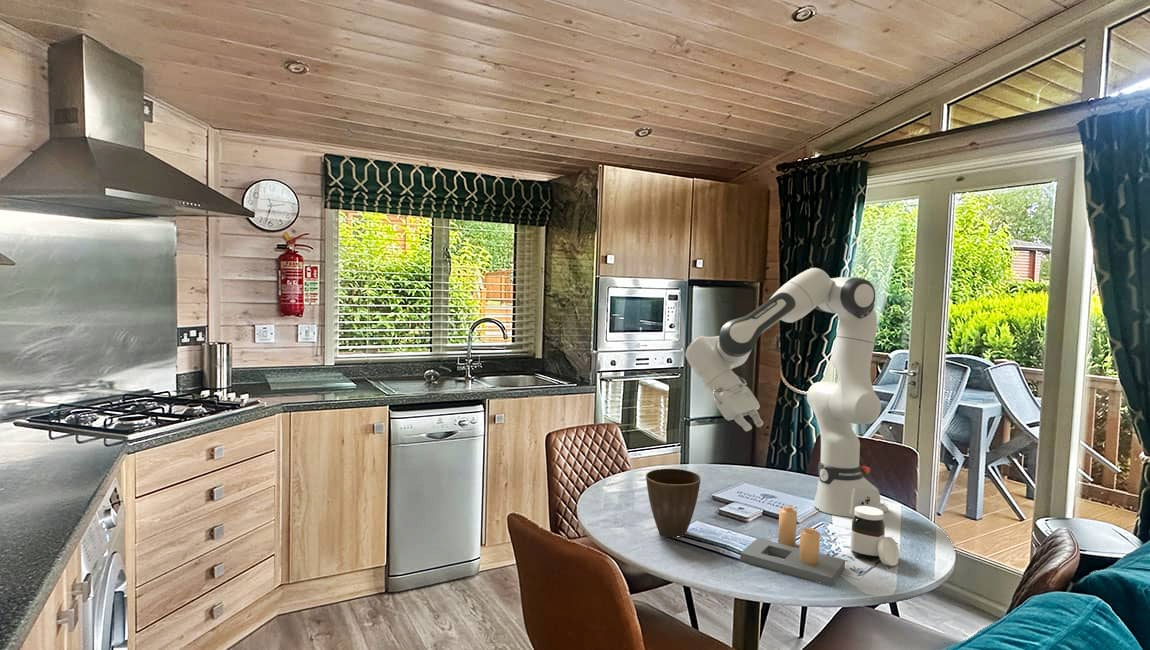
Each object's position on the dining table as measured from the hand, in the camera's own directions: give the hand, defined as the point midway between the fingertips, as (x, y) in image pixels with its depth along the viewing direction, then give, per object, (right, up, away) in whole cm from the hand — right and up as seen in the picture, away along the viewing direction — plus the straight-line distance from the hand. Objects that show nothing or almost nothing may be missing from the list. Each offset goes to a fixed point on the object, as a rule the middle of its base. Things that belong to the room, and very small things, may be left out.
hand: (755, 427), depth 178 cm
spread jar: (+27, -31, -13) cm, 43 cm away
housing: (+4, -31, -18) cm, 36 cm away
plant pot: (-23, -29, +1) cm, 37 cm away
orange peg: (+7, -30, -6) cm, 31 cm away
